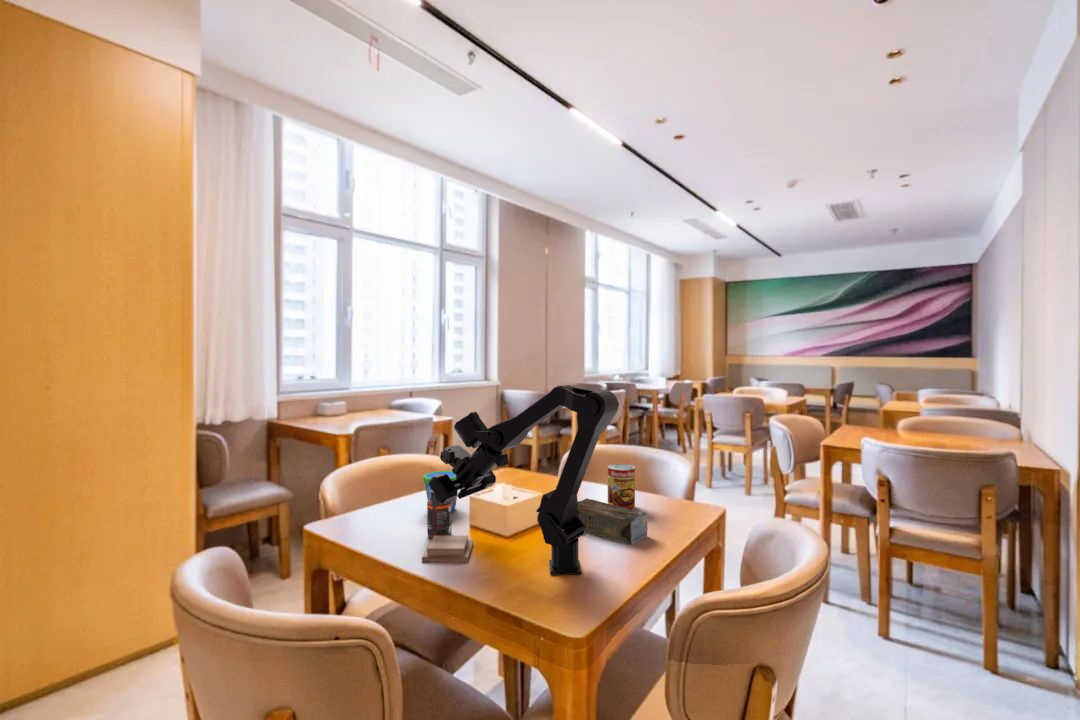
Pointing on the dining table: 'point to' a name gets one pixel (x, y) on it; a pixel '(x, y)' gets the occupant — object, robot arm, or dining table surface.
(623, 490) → the canned food
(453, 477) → the snack cup
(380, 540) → the dining table surface
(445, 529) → the supplement bottle
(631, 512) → the beverage carton
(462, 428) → the robot arm
